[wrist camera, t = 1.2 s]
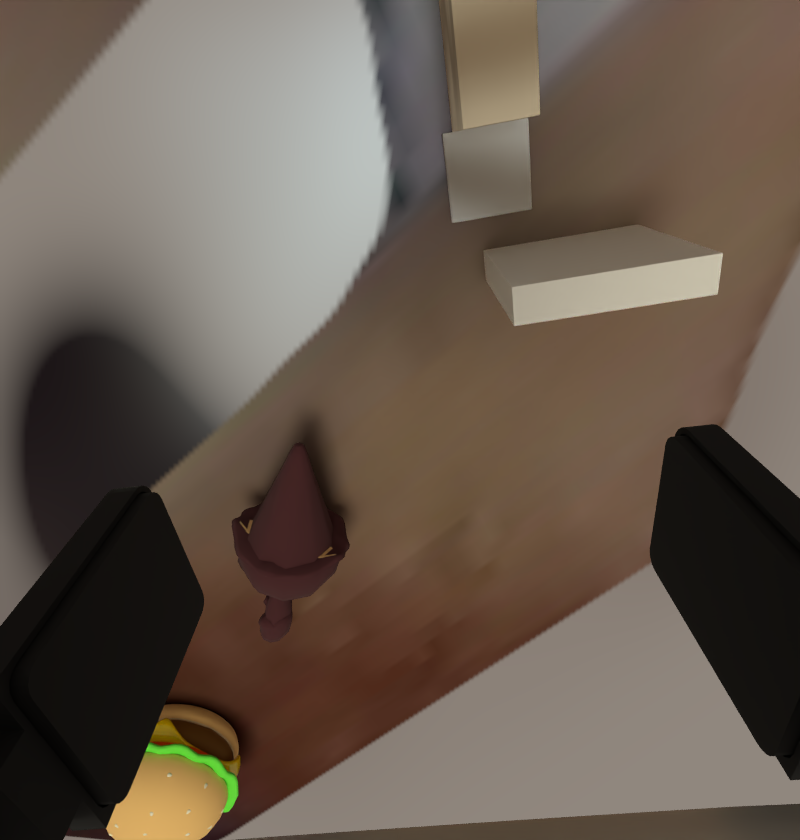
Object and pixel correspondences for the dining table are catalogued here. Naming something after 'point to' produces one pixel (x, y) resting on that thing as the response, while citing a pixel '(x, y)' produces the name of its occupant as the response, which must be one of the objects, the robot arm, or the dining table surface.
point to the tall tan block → (489, 104)
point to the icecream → (289, 542)
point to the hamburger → (181, 778)
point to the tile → (599, 273)
